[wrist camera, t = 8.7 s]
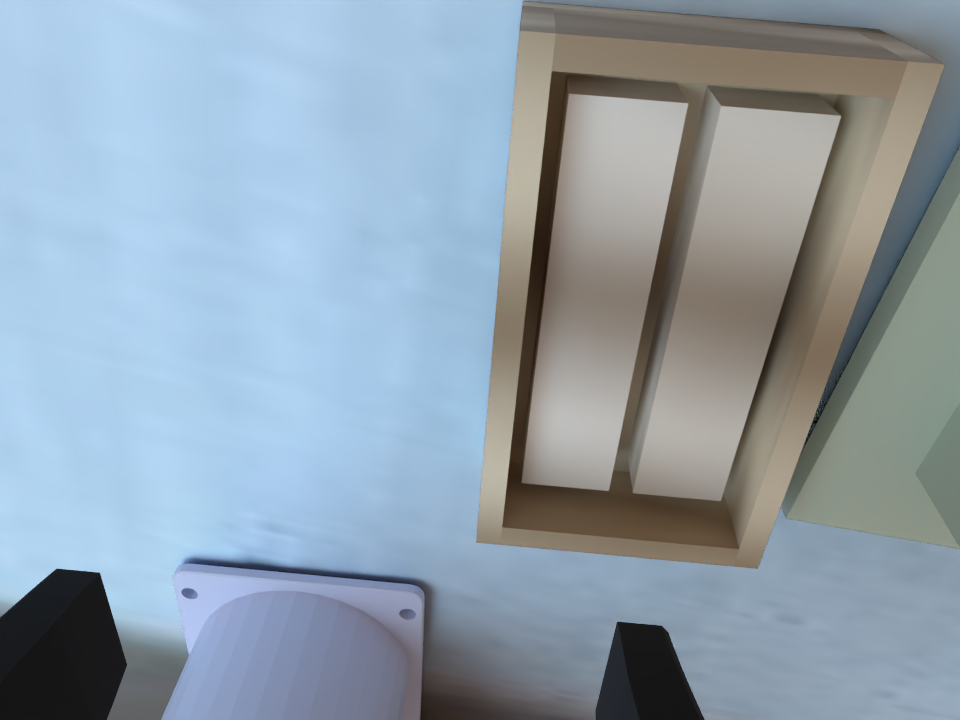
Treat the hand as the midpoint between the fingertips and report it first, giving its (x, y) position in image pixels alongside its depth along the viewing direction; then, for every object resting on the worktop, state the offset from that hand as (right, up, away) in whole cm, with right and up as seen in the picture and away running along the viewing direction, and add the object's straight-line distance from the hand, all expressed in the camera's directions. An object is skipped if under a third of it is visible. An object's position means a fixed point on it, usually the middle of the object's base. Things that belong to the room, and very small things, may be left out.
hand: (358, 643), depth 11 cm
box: (+6, +6, +8) cm, 11 cm away
